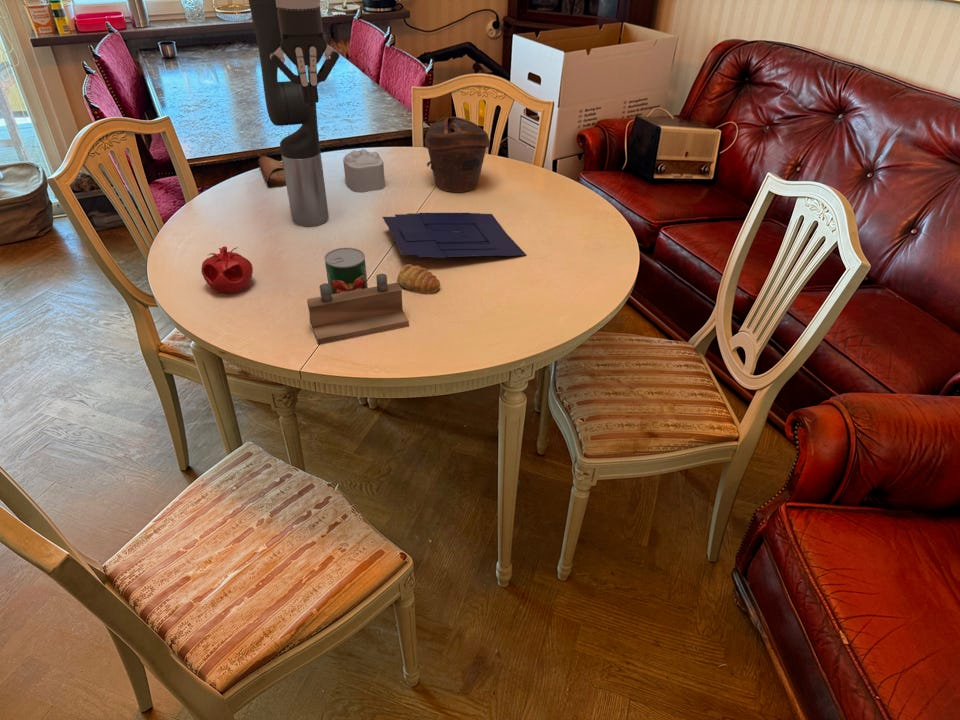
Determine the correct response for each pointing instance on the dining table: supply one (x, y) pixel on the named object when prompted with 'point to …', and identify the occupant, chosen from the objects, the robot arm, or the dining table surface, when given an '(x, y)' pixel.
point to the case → (456, 153)
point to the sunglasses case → (272, 172)
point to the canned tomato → (346, 270)
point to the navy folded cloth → (451, 235)
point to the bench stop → (356, 311)
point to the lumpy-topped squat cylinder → (364, 171)
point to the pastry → (417, 279)
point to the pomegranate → (227, 271)
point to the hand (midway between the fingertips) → (311, 105)
